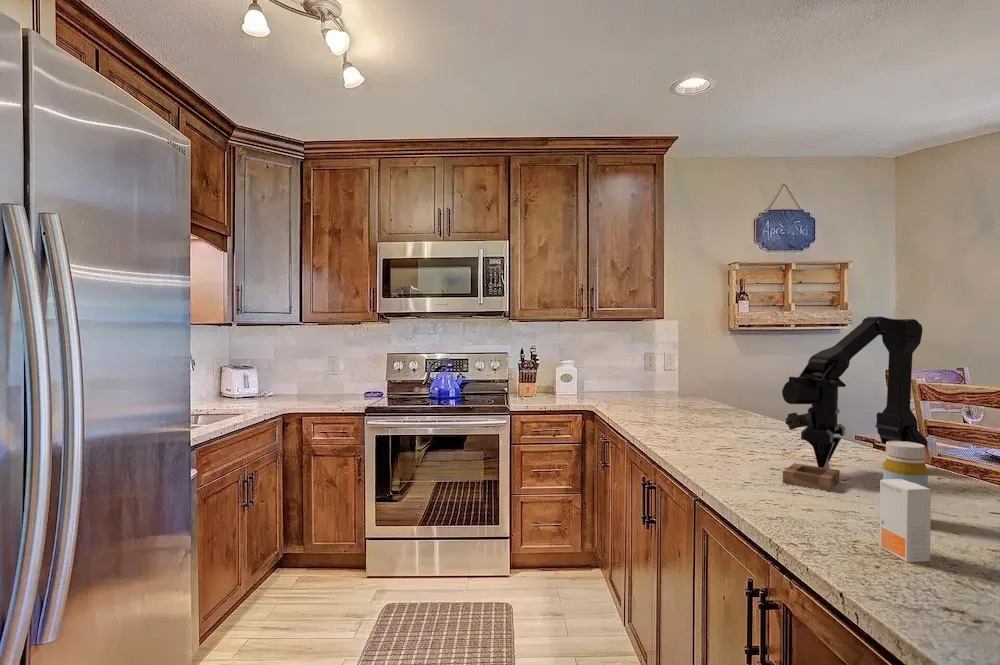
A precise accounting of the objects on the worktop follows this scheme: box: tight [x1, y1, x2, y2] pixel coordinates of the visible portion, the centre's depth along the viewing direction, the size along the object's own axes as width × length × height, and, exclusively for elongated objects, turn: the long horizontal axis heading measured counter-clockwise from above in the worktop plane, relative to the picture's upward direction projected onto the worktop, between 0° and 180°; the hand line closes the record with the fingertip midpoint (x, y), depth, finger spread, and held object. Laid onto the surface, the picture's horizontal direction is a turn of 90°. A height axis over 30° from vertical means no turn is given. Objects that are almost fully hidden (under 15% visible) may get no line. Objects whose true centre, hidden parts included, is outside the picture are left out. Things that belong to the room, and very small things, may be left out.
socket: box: [782, 462, 841, 492], centre depth 132 cm, size 10×10×3 cm
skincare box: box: [878, 478, 932, 564], centre depth 91 cm, size 6×4×12 cm
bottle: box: [882, 441, 929, 488], centre depth 107 cm, size 7×7×15 cm
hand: (822, 466), depth 138 cm, fingers open, 4 cm apart
